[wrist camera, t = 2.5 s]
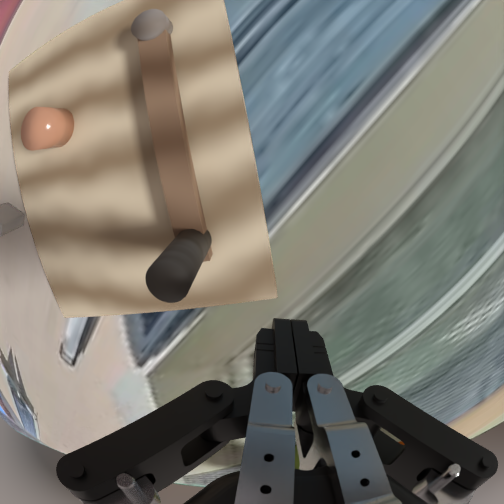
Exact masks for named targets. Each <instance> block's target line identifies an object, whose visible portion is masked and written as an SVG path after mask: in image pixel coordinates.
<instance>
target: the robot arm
mask: <svg viewBox="0 0 504 504" xmlns="http://www.w3.org/2000/svg"><path fill="white" fill-rule="evenodd" d="M292 411H294V412H295V413H296V419H295V422H294V427H292ZM380 427H382V428H383V429H385V430H386V431H388V432H389V433H391V434H392V435H393V436H395V437H396V438H398V439H399V440H401V441H402V442H403V443H404V444H405V445H402V444H400V443H398V442H397V441H395V440H394V439H392V438H391V437H390V436H388V435H387V434H385V433H384V432H382V431H381V430H380ZM245 437H246V439H245V445H244V451H243V457H242V463H241V469H240V471H237V472H233V473H230V474H227V475H224V476H222V477H220V478H217V479H216V480H214V481H212V482H211V483H210V484H208V485H207V486H206V487H205V488H203V489H202V490H201V491H199V492H198V493H197V494H196V495H194V496H193V497H192V498H190V499H189V500H188V501H186V502H185V503H184V504H469V502H470V500H471V498H472V496H473V494H474V492H475V490H476V489H477V488H478V487H479V486H481V485H482V484H483V483H485V482H486V481H487V480H488V479H489V478H491V477H492V476H493V475H494V474H495V473H496V471H497V468H498V461H497V458H496V456H495V455H494V454H493V453H492V452H491V451H489V450H487V449H486V448H484V447H482V446H480V445H479V444H477V443H475V442H474V441H472V440H470V439H468V438H467V437H465V436H463V435H462V434H460V433H458V432H457V431H455V430H453V429H452V428H450V427H448V426H447V425H445V424H443V423H442V422H440V421H439V420H437V419H435V418H434V417H432V416H430V415H429V414H427V413H426V412H424V411H422V410H421V409H419V408H418V407H416V406H415V405H413V404H411V403H410V402H408V401H407V400H405V399H404V398H402V397H400V396H399V395H397V394H396V393H394V392H393V391H391V390H390V389H388V388H386V387H384V386H379V385H374V386H370V387H368V388H366V389H365V391H364V393H362V392H357V391H352V390H348V389H346V388H344V387H343V385H342V383H341V382H340V381H339V380H338V379H337V378H336V377H334V376H333V373H332V369H331V365H330V361H329V358H328V354H327V351H326V348H325V343H324V340H323V338H322V337H321V336H320V335H319V333H318V332H316V331H309V328H308V324H307V321H306V320H293V319H291V320H290V319H278V318H274V319H273V324H272V329H266V328H261V330H260V331H259V332H258V334H257V337H256V345H255V353H254V363H253V381H252V382H251V383H249V384H248V385H246V386H243V387H239V388H231V387H230V386H229V385H228V384H226V383H224V382H221V381H217V380H210V381H205V382H202V383H201V384H199V385H197V386H196V387H194V388H192V389H191V390H189V391H187V392H186V393H184V394H182V395H181V396H179V397H177V398H176V399H174V400H172V401H171V402H169V403H167V404H165V405H164V406H162V407H160V408H158V409H157V410H155V411H153V412H151V413H149V414H148V415H146V416H144V417H142V418H140V419H138V420H136V421H135V422H133V423H131V424H129V425H127V426H125V427H123V428H121V429H119V430H117V431H115V432H113V433H111V434H109V435H107V436H105V437H103V438H101V439H99V440H97V441H95V442H93V443H91V444H89V445H86V446H84V447H82V448H80V449H78V450H76V451H73V452H71V453H69V454H66V455H65V456H63V457H62V458H61V459H60V460H59V462H58V464H57V468H56V471H57V476H58V478H59V480H60V482H61V483H62V484H63V485H64V486H65V487H66V488H68V489H69V490H70V492H71V493H72V494H73V495H74V496H75V497H76V498H78V499H79V500H80V501H81V502H83V503H84V504H160V503H161V501H160V497H159V495H158V492H159V491H161V490H162V489H164V488H166V487H167V486H169V485H170V484H172V483H173V482H175V481H176V480H178V479H180V478H181V477H183V476H184V475H185V474H187V473H188V472H190V471H191V470H193V469H194V468H196V467H197V466H198V465H200V464H201V463H203V462H204V461H205V460H207V459H208V458H209V457H211V456H212V455H213V454H215V453H216V452H217V451H219V450H220V449H221V448H223V447H224V446H225V445H226V444H228V443H229V441H230V440H234V439H239V438H245ZM295 438H296V443H297V449H298V455H299V461H300V467H299V469H295Z"/></svg>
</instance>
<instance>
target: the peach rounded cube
mask: <svg viewBox="0 0 504 504" xmlns="http://www.w3.org/2000/svg"><path fill="white" fill-rule="evenodd" d="M73 130H74V118H73V115H72V113H71V112H70V111H69V110H68V109H64V108H52V107H34V108H32V109H31V110H30V111H29V112H28V113H27V114H26V116H25V118H24V120H23V123H22V127H21V140H22V143H23V145H24V147H25V148H26V149H28V150H31V151H33V150H41V149H49V148H58V147H62V146H64V145H65V144H66V143H67V142H68V141H69V140H70V138H71V136H72V134H73Z"/></svg>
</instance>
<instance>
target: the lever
mask: <svg viewBox="0 0 504 504" xmlns="http://www.w3.org/2000/svg"><path fill="white" fill-rule="evenodd" d="M172 31H173V25H172V22H171V21H170V20H169V19H168V17H167V16H166V15H165V14H164V13H163V12H162V11H161V10H158V9H150V10H146V11H144V12H142V13H141V14H139V15H138V16H137V17H136V18H135V19H134V21H133V23H132V25H131V32H132V34H133V36H135V37H136V38H137V39H138V48H139V56H140V64H141V72H142V79H143V86H144V93H145V99H146V105H147V111H148V117H149V123H150V128H151V134H152V139H153V144H154V150H155V155H156V159H157V164H158V169H159V174H160V178H161V183H162V187H163V192H164V196H165V200H166V204H167V209H168V213H169V217H170V221H171V225H172V229H173V233H174V236H175V238H174V240H173V241H172V242H171V243H170V244H169V245H168V246H167V247H166V249H165V250H164V251H163V252H162V253H161V254H160V255H159V257H158V258H157V259H156V260H155V261H154V262H153V263H152V265H151V266H150V267H149V268H148V270H147V272H146V277H145V280H146V285H147V287H148V289H149V291H150V292H151V294H152V295H153V296H154V297H156V298H157V299H159V300H161V301H163V302H167V303H175V302H179V301H181V300H182V299H184V298H185V297H186V295H187V294H188V292H189V290H190V288H191V286H192V283H193V281H194V279H195V277H196V275H197V273H198V271H199V269H200V267H201V265H202V263H203V262H205V261H210V259H211V257H212V255H213V252H212V248H211V243H212V238H211V235H210V232H209V231H208V230H207V226H206V222H205V217H204V213H203V208H202V204H201V199H200V195H199V190H198V185H197V180H196V176H195V171H194V166H193V161H192V156H191V151H190V146H189V141H188V136H187V130H186V125H185V120H184V114H183V109H182V103H181V97H180V91H179V86H178V80H177V74H176V67H175V61H174V55H173V48H172V41H171V33H172Z"/></svg>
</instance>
